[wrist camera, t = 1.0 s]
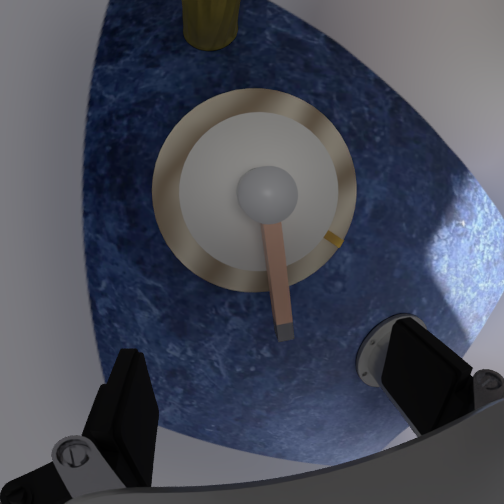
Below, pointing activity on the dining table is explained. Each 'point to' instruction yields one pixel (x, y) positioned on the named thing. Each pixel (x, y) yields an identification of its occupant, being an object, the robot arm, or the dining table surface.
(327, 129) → the dial base
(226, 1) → the vase
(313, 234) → the dial
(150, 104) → the dining table surface
